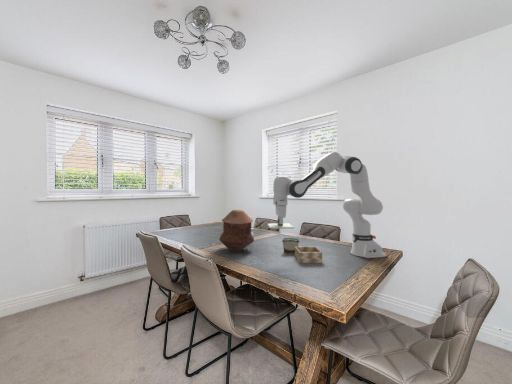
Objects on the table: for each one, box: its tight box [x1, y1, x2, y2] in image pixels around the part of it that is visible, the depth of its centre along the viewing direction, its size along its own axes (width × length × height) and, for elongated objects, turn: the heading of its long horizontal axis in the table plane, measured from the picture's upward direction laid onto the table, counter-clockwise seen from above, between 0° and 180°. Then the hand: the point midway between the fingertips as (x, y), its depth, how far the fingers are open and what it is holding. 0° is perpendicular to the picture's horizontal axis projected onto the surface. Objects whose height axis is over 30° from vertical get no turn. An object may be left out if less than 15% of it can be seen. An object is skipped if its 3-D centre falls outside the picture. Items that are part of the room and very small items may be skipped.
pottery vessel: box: [218, 209, 255, 253], centre depth 173 cm, size 26×26×30 cm
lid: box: [267, 218, 295, 230], centre depth 149 cm, size 15×15×5 cm
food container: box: [281, 237, 301, 254], centre depth 167 cm, size 12×6×10 cm, turn 84°
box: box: [294, 246, 323, 264], centre depth 150 cm, size 14×14×7 cm
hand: (280, 223), depth 149 cm, fingers closed on lid, 3 cm apart
